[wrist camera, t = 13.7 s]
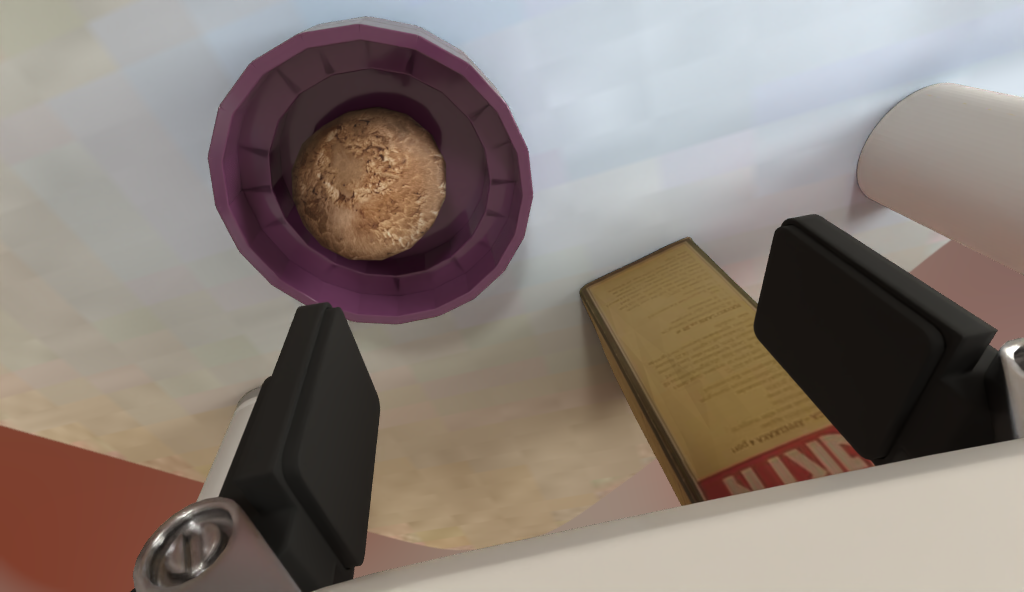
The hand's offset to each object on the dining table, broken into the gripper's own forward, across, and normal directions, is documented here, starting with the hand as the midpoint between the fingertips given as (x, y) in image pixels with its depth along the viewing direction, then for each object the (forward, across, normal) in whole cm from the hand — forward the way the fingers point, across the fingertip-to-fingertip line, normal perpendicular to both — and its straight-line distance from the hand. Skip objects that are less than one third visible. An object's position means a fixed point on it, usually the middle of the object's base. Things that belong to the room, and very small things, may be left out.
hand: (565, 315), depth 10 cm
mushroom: (+19, +7, +2) cm, 21 cm away
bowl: (+20, +6, +3) cm, 21 cm away
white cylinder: (+20, -29, +8) cm, 36 cm away
